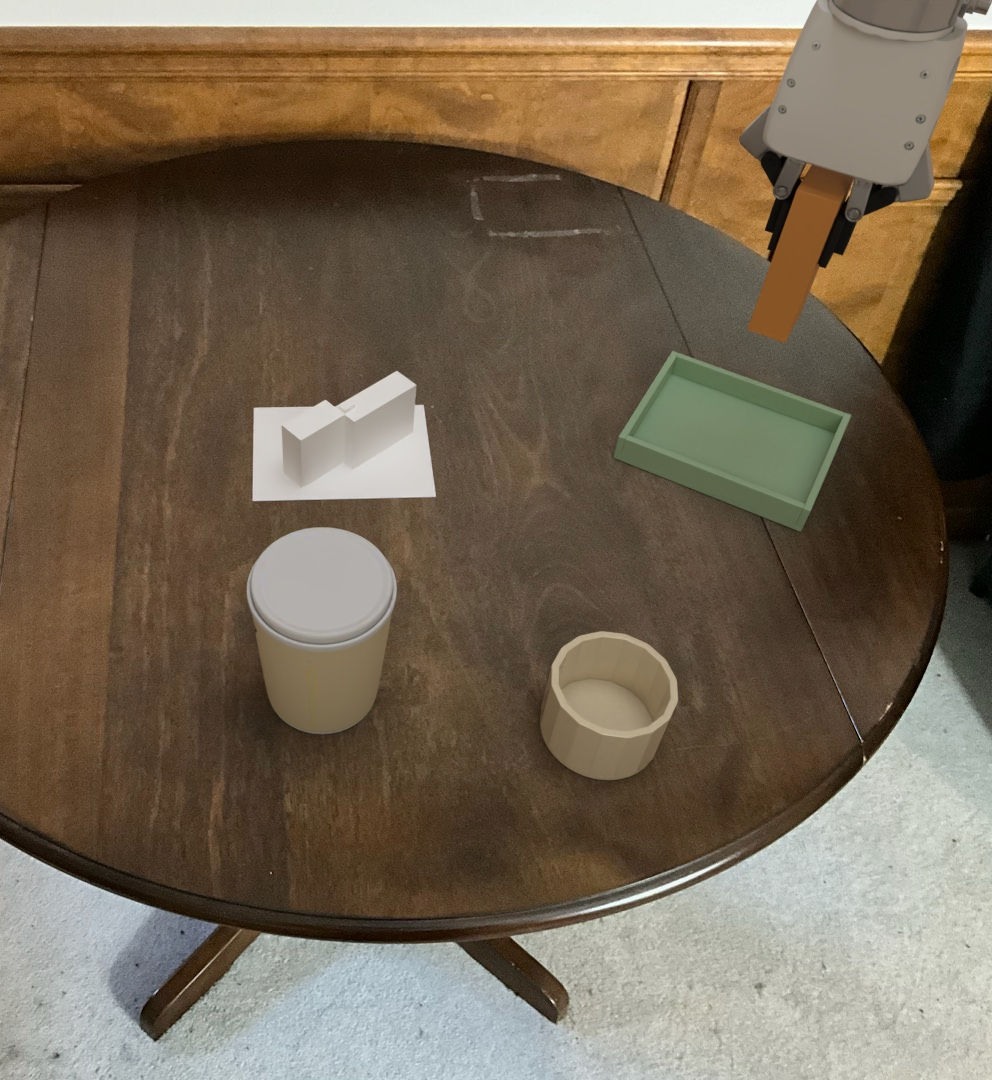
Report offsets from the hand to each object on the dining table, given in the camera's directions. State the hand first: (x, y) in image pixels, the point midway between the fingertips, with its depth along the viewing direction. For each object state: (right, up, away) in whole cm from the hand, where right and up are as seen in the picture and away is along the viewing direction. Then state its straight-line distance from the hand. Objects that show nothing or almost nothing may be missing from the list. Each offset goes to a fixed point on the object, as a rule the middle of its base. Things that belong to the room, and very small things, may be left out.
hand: (801, 247), depth 81 cm
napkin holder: (-34, -14, +13) cm, 39 cm away
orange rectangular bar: (0, -4, +5) cm, 7 cm away
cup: (-16, -34, -4) cm, 38 cm away
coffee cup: (-35, -32, -3) cm, 47 cm away
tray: (-1, -13, +15) cm, 20 cm away
